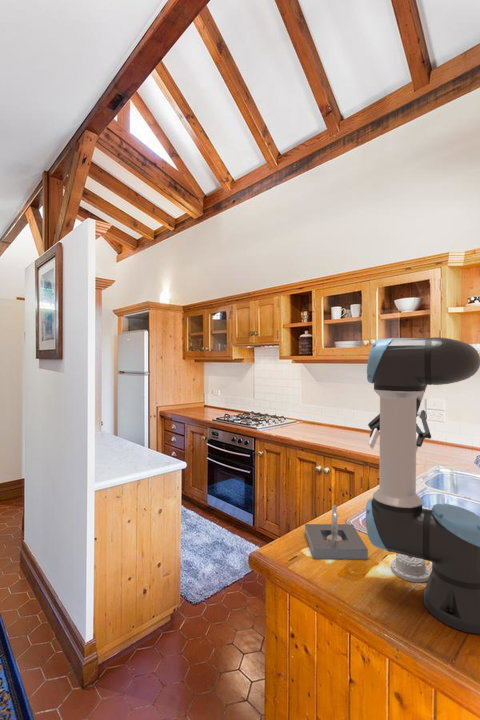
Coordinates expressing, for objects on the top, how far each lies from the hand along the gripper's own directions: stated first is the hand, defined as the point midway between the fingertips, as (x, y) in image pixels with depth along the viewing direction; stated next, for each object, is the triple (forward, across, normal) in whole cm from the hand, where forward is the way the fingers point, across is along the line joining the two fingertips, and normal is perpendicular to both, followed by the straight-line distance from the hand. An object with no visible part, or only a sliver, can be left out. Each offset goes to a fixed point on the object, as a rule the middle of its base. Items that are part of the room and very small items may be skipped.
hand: (390, 450), depth 119 cm
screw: (+32, +11, -10) cm, 35 cm away
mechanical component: (+30, -11, -12) cm, 34 cm away
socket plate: (+32, +11, -10) cm, 35 cm away
